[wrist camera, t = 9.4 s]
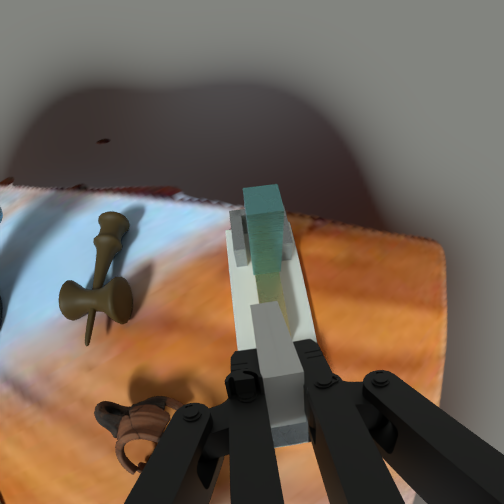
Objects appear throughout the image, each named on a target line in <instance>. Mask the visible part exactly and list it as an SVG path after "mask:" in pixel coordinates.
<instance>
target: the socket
mask: <svg viewBox="0 0 504 504" xmlns="http://www.w3.org/2000/svg"><path fill="white" fill-rule="evenodd" d="M283 207H284V204H283ZM229 213H230V223H231V232H232V241H233V251H234V256H235V261H236V265H237V267H242V266H248V264H247V256H246V249H245V241H244V234H247V233H248V230H247V221H246V212H245V209H241V210H234V211H229ZM292 247H293V240H292V236H291V232H290V228H289V224H288V220H287V216H286V212H285V208H284V226H283V244H282V261H286V260H291V256H292Z"/></svg>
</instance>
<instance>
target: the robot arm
mask: <svg viewBox="0 0 504 504" xmlns="http://www.w3.org/2000/svg"><path fill="white" fill-rule="evenodd" d="M2 217H3V213H2V209H1V207H0V223H1V221H2ZM250 308H251V315H252V322H253V329H254V336H255V342H256V348H255V349H247V350H240V351H235V352H234V354H233V355H232V357H231V373H230V374H229V375H228V376H227V377H226V379H225V386H226V390H227V394H228V399H227V400H226V401H225V402H224V403H222V404H220V405H218V406H216V407H212V408H208V407H207V406H205V405H204V404H200V403H190V404H186V405H183V406H182V407H180V408H178V410H177V411H176V412H175V413H174V415H173V417H172V419H171V421H170V422H169V424H168V426H167V428H166V430H165V431H164V433H163V435H162V437H161V439H160V440H159V442H158V444H157V446H156V448H155V449H154V451H153V453H152V455H151V456H150V458H149V460H148V462H147V464H146V465H145V467H144V469H143V471H142V472H141V474H140V476H139V478H138V480H137V481H136V483H135V485H134V487H133V488H132V490H131V492H130V494H129V495H128V497H127V499H126V501H125V502H124V504H209V502H210V499H211V496H212V493H213V490H214V487H215V484H216V481H217V478H218V475H219V472H220V469H221V466H222V463H223V460H224V456H226V455H228V454H229V455H230V493H231V504H284V500H283V494H282V489H281V483H280V477H279V472H278V466H277V460H276V455H275V449H274V443H273V438H272V432H271V428H274V427H280V426H286V425H292V424H297V423H302V422H306V418H307V421H308V442H312V445H313V449H314V452H315V455H316V459H317V462H318V465H319V469H320V472H321V476H322V479H323V482H324V486H325V489H326V492H327V496H328V499H329V502H330V504H405V502H404V500H403V498H402V496H401V494H400V492H399V490H398V488H397V486H396V484H395V482H394V480H393V478H392V476H391V474H390V472H389V470H388V468H387V466H386V464H385V462H384V460H385V461H386V462H387V463H388V464H389V465H390V466H391V467H392V468H393V469H394V470H395V471H396V472H397V473H398V474H399V475H400V476H401V477H402V478H403V480H404V481H405V482H406V483H407V484H408V485H409V486H410V487H411V488H412V489H413V490H414V491H415V492H416V493H417V494H418V495H419V496H420V497H421V498H422V499H423V500H424V501H425V502H426V503H428V504H504V455H503V454H502V453H500V452H499V451H498V450H496V449H495V448H493V447H492V446H491V445H489V444H488V443H486V442H485V441H484V440H482V439H481V438H480V437H478V436H477V435H476V434H474V433H473V432H471V431H470V430H469V429H467V428H466V427H465V426H463V425H462V424H460V423H459V422H457V421H456V420H455V419H454V418H452V417H451V416H450V415H448V414H447V413H446V412H444V411H443V410H442V409H440V408H439V407H438V406H436V405H435V404H433V403H432V402H431V401H429V400H428V399H427V398H425V397H424V396H423V395H421V394H420V393H419V392H417V391H416V390H415V389H413V388H412V387H411V386H409V385H408V384H407V383H405V382H404V381H403V380H401V379H400V378H399V377H397V376H396V375H395V374H393V373H391V372H389V371H385V370H377V371H373V372H370V373H369V374H367V375H366V376H365V378H364V379H363V382H347V381H342V379H341V378H340V377H339V376H338V375H336V374H334V373H332V371H331V369H330V367H329V365H328V363H327V361H326V359H325V357H324V356H323V353H322V351H321V349H320V347H319V345H318V344H317V343H316V342H315V341H313V340H312V339H305V340H300V341H294V342H293V341H292V339H291V336H290V333H289V331H288V328H287V325H286V323H285V320H284V317H283V315H282V312H281V309H280V307H279V304H278V301H273V302H267V303H260V304H253V305H250ZM1 318H2V301H1V297H0V324H1ZM383 459H384V460H383Z"/></svg>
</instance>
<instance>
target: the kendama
mask: <svg viewBox="0 0 504 504" xmlns="http://www.w3.org/2000/svg"><path fill="white" fill-rule="evenodd" d="M98 222H99V224H100V227H101V229H100V232H99V234H98V236H96V237H95V238H94V242H93V243H94V245H95V247H96V249H97V254H96V264H95V273H94V281H93V288H92V290H89V289H85V288H83V287H82V286H81V285H79V284H78V283H76V282H74V281H72V280H68V281H66V282H65V283H64V284H63V285H62V287H61V290H60V293H59V308H60V310H61V312H62V314H63V315H64V316H65V317H66V318H67V319H69V320H72V321H73V320H77V319H79V318H81V317H82V316H84V315H85V314H86V313H88V312H89V313H88V319H87V326H86V334H85V345H86V346H89V343H90V339H91V335H92V330H93V325H94V320H95V315H96V311H100V312H104V313H106V314H107V315H108V316H109V317H110V318H112V319H113V320H114V321H115V322H117V323H120V324H125V323H127V322H128V320H129V318H130V316H131V312H132V304H133V299H132V292H131V289H130V286H129V284H128V282H127V281H126V279H124V278H123V277H120V276H119V277H114V278H113V279H112V280H111V281H109V282H108V283H107V284H106V285H105V286H104V287H103V283H104V280H105V277H106V275H107V272H108V269H109V267H110V264H111V262H112V260H113V258H114V256H115V255H116V253H117V252H119V251H121V250H122V244H121V238H122V236H123V234H124V233H125V232H127V231H128V230H129V227H130V224H129V221H128V220H127V218H126V217H125V216H124V215H122V214H120V213H117V212H105V213H102V214H101V215H100V216H99V220H98Z"/></svg>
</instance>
